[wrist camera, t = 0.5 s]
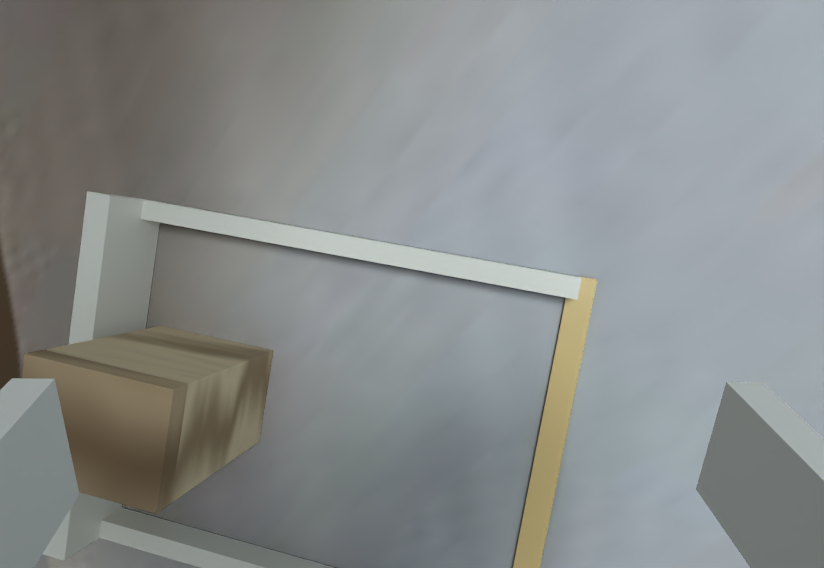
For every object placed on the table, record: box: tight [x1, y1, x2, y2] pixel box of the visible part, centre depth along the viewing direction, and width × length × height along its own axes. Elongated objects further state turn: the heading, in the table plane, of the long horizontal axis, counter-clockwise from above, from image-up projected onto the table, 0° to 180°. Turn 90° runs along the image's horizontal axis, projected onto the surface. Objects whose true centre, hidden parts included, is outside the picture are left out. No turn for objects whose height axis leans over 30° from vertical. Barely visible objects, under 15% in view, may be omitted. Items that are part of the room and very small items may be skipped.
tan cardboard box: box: [22, 326, 273, 514], centre depth 34 cm, size 6×8×11 cm
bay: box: [43, 191, 597, 568], centre depth 36 cm, size 22×29×5 cm
